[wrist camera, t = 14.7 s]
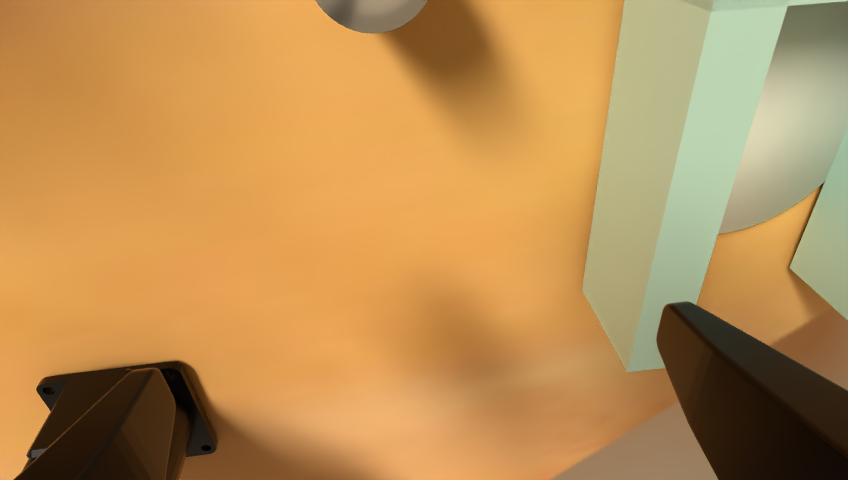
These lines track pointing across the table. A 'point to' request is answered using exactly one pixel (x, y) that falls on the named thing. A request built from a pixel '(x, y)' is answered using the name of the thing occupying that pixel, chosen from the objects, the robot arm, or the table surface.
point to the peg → (372, 13)
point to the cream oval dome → (794, 117)
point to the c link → (689, 165)
